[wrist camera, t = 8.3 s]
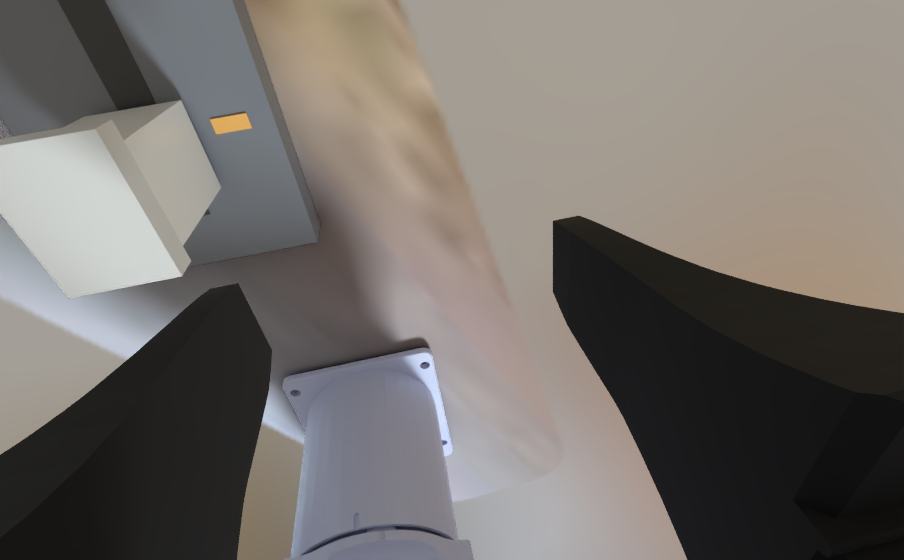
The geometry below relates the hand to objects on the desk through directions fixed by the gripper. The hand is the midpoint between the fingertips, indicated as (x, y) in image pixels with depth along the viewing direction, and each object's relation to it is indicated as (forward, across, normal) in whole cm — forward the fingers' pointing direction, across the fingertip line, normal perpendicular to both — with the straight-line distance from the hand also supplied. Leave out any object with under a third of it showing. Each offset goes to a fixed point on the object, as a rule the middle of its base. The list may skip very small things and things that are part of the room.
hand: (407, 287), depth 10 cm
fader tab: (+8, +7, -2) cm, 11 cm away
